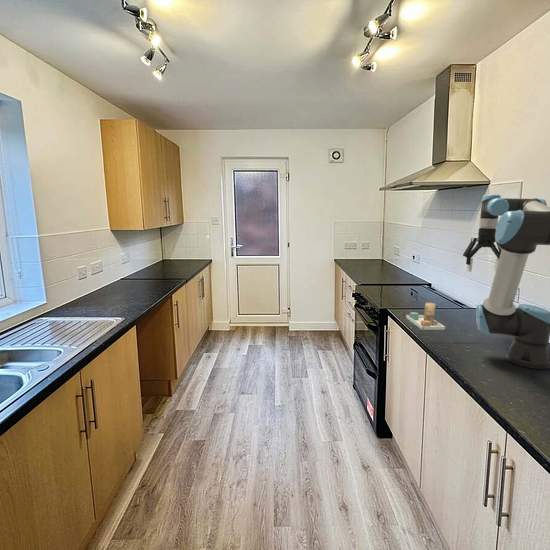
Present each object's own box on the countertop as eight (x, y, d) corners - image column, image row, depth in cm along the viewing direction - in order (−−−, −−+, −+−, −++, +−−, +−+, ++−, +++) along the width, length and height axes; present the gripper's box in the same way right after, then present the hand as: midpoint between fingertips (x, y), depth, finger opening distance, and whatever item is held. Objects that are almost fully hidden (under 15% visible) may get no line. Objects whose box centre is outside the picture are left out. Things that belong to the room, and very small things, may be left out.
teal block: (418, 320, 203) (418, 314, 202) (412, 320, 202) (412, 314, 202) (415, 318, 206) (416, 312, 205) (409, 318, 206) (410, 312, 205)
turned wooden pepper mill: (435, 324, 195) (437, 304, 193) (425, 324, 194) (427, 304, 192) (430, 321, 200) (432, 302, 198) (421, 321, 199) (423, 302, 197)
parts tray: (445, 331, 187) (445, 326, 187) (421, 331, 187) (422, 326, 186) (426, 319, 208) (426, 315, 207) (405, 319, 207) (405, 315, 207)
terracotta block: (430, 328, 188) (430, 322, 187) (423, 328, 188) (424, 322, 187) (427, 326, 191) (427, 320, 191) (420, 326, 191) (421, 320, 191)
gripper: (507, 227, 180) (502, 270, 184) (458, 226, 179) (453, 270, 182) (518, 228, 172) (512, 273, 176) (466, 227, 171) (461, 272, 175)
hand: (482, 271), depth 179 cm, fingers open, 13 cm apart
